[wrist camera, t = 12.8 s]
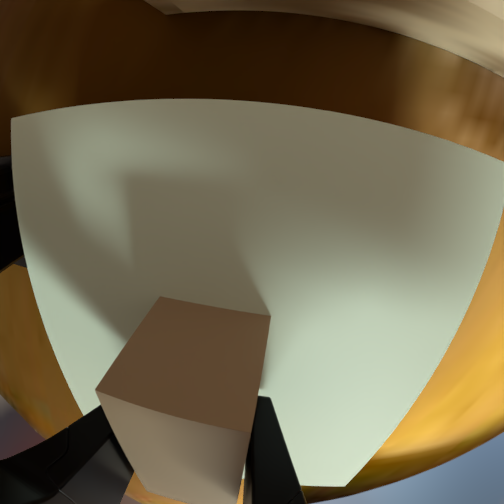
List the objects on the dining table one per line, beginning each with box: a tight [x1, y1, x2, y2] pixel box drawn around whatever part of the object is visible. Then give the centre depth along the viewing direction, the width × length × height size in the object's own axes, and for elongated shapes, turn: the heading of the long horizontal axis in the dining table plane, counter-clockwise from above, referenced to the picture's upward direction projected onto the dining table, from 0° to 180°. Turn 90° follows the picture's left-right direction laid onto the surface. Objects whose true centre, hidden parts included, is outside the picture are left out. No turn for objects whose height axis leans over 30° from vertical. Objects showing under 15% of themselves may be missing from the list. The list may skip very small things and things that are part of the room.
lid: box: [11, 99, 504, 504], centre depth 8 cm, size 14×16×6 cm
